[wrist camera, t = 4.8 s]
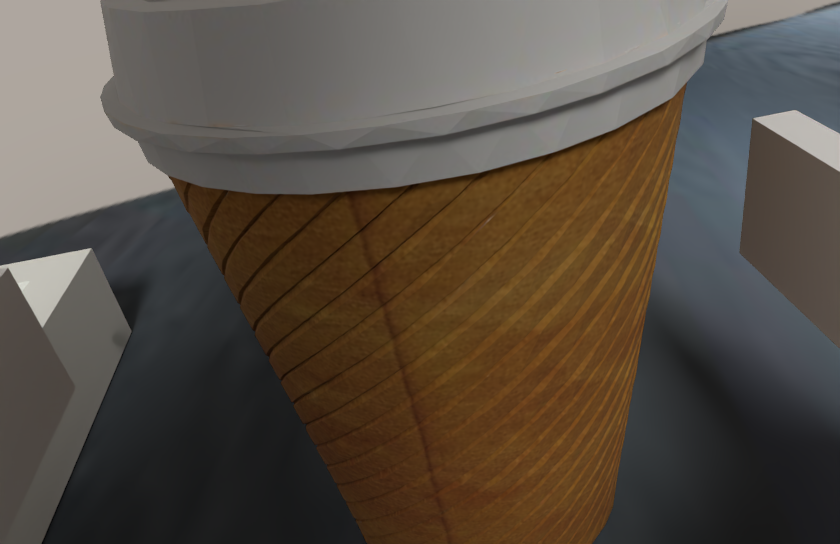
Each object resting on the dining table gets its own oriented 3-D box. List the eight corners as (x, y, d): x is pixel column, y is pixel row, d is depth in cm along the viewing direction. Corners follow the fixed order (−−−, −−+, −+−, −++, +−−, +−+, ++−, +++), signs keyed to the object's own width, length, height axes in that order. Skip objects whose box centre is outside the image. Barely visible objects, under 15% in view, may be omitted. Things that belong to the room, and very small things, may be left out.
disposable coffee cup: (432, 319, 22) (356, -91, 16) (745, 412, 17) (813, -150, 11) (205, 541, 16) (-62, 23, 10) (578, 795, 11) (508, 22, 5)
